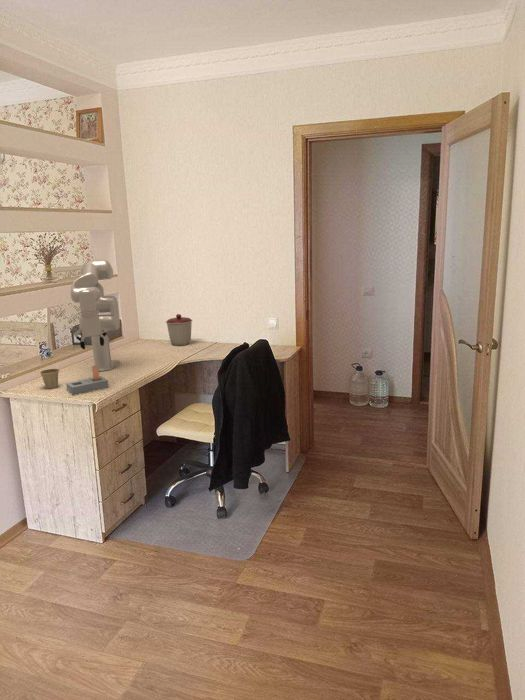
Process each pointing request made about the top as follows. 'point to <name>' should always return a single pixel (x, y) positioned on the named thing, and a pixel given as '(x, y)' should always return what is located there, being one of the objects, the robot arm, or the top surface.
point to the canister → (179, 330)
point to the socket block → (86, 385)
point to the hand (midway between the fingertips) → (92, 347)
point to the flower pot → (50, 377)
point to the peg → (95, 373)
